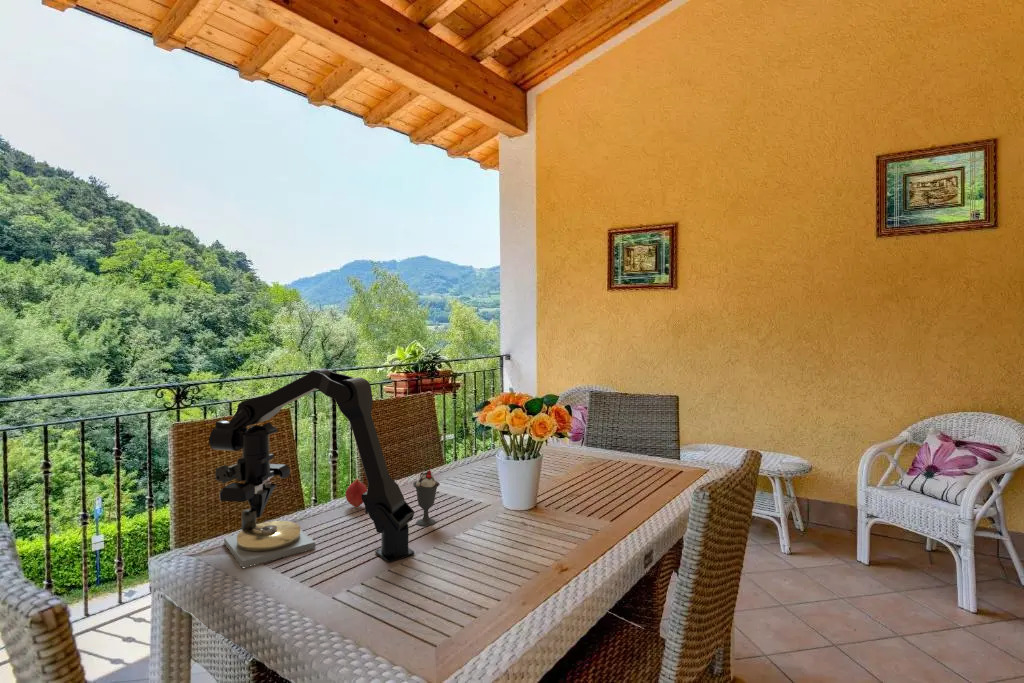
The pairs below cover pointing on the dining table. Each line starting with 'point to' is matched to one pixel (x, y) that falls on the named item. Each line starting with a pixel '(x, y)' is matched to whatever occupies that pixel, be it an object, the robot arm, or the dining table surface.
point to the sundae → (426, 496)
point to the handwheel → (265, 533)
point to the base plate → (257, 557)
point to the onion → (355, 493)
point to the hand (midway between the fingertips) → (258, 517)
